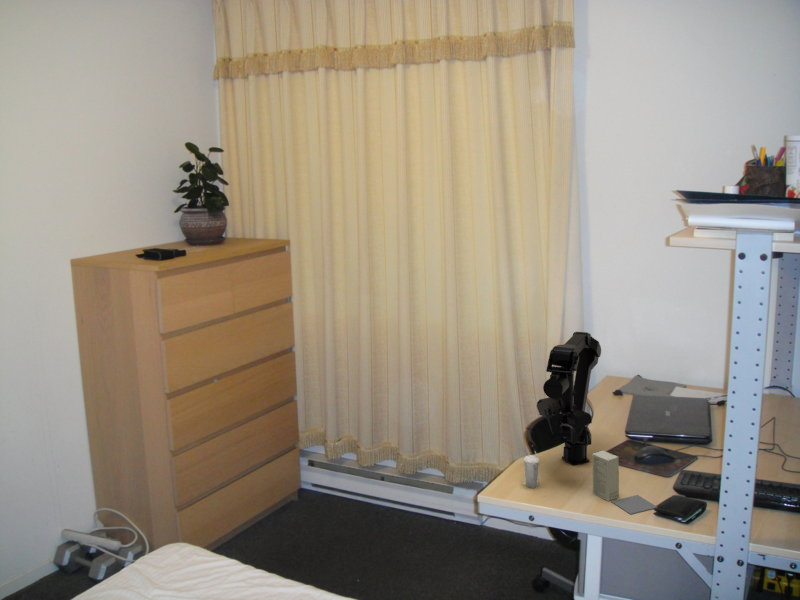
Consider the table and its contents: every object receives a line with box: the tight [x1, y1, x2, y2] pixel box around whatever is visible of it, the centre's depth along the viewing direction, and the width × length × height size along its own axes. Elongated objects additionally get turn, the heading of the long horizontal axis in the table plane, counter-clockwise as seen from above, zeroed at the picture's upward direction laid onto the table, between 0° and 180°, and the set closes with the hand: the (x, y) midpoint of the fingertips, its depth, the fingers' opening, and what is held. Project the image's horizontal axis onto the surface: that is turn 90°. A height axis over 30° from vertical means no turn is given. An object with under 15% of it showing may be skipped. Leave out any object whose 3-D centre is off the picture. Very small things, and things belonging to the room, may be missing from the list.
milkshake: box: [523, 454, 543, 489], centre depth 204 cm, size 4×5×10 cm
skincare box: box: [591, 450, 620, 502], centre depth 196 cm, size 6×4×12 cm
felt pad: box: [610, 494, 658, 515], centre depth 191 cm, size 9×8×1 cm
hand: (563, 438), depth 209 cm, fingers open, 9 cm apart
